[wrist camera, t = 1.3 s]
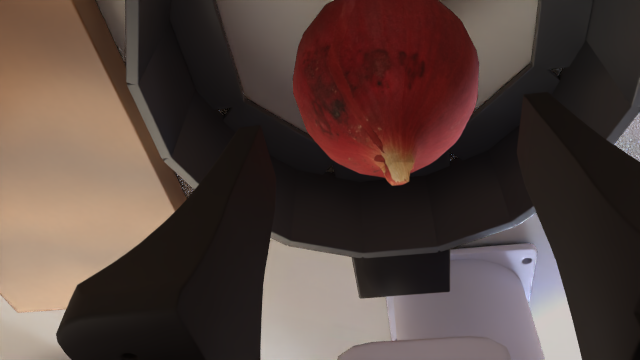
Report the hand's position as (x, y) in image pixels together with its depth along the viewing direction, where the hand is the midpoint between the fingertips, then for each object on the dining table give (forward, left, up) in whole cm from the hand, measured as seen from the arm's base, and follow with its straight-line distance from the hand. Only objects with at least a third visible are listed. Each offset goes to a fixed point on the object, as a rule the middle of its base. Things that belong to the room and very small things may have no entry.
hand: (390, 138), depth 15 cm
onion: (0, 0, -7) cm, 7 cm away
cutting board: (-4, +16, -7) cm, 18 cm away
